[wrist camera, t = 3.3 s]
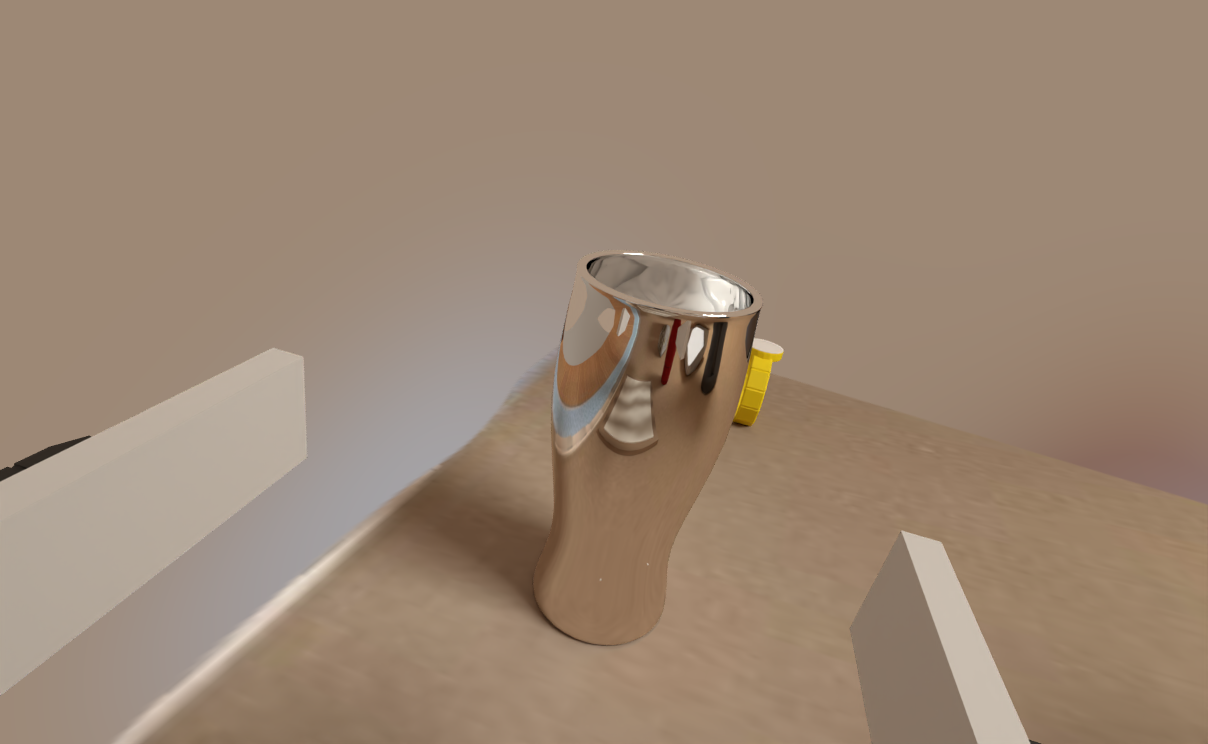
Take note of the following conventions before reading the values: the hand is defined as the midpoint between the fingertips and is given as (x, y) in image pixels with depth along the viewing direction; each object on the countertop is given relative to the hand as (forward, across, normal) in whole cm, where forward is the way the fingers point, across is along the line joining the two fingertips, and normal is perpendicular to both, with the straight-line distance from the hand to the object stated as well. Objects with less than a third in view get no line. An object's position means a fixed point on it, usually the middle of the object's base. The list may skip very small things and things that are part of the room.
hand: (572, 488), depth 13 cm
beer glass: (+10, +1, -13) cm, 16 cm away
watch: (+31, +7, -13) cm, 34 cm away
